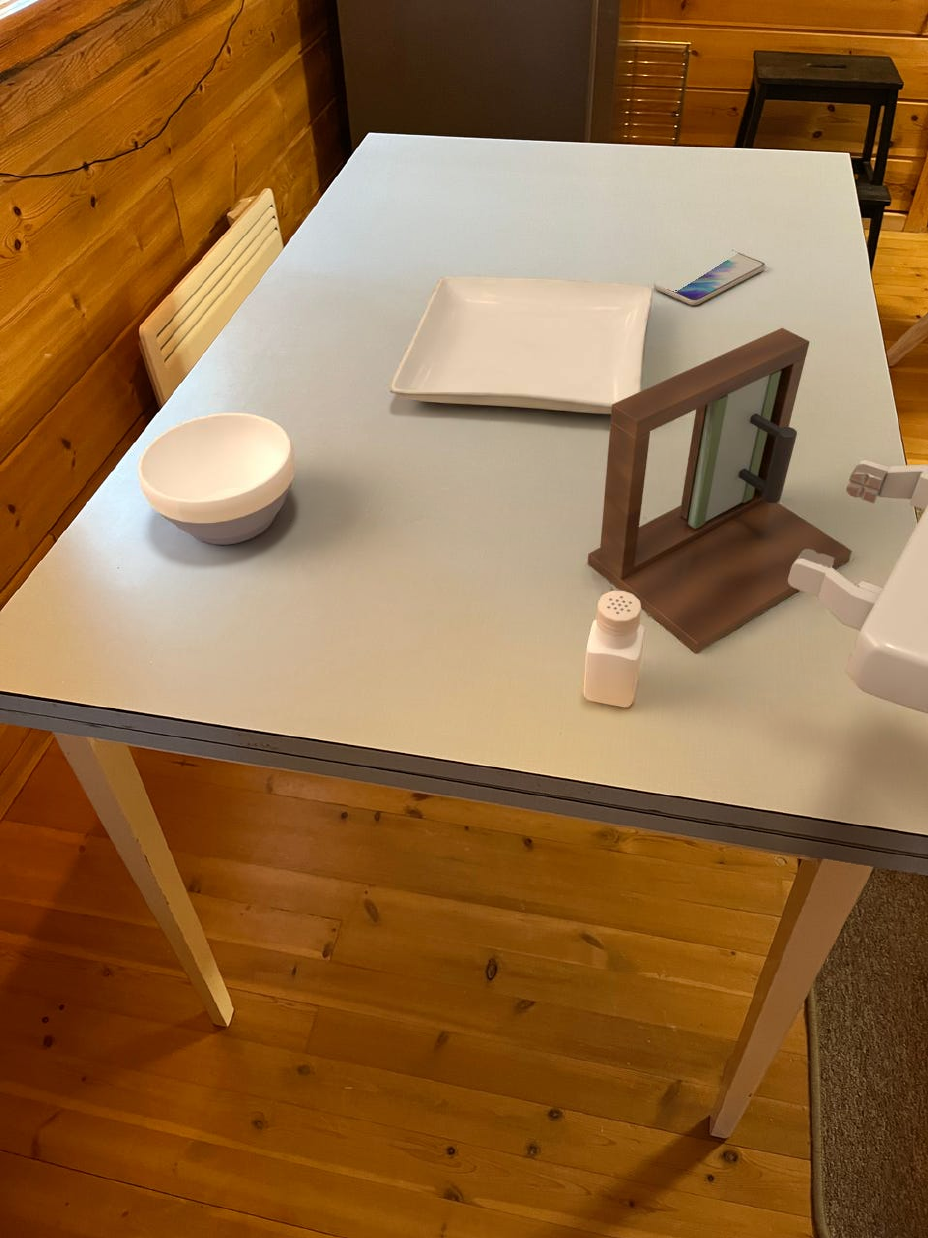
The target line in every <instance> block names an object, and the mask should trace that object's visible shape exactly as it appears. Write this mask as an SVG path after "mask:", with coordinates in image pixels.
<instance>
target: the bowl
mask: <svg viewBox="0 0 928 1238" xmlns="http://www.w3.org/2000/svg"><path fill="white" fill-rule="evenodd" d="M295 473H296V458H295V451H294V446H293V444H292V440H291V438H290V437H289V434H288V433H287V432H286V430H285V429H284V428H283V427H282V426H281V425H279V424H278V423H276V422H274V421H273V420H271V419H268V418H265V417H263V416H260V415H255V414H251V413H243V412H221V413H213V414H207V415H203V416H200V417H195V418H191V419H190V420H186V421H183V422H180V423H179V424H176V425H174V426H172V427H170V428H168V429H167V430H165V431H164V432H162V433H160V434H159V435H157V436H156V438H154V439H153V440H152V441H151V442H150V443H149V444H148V445H147V446H146V448H145V449H144V451H143V452H142V453H141V456H140V457H139V460H138V462H137V476H138V479H139V484H140V488H141V490H142V493H143V495H144V496H145V499H146V501H147V502H148V504H149V505H150V506H151V508H152V509H154V510H155V511H156V512H157V513H158V514H159V515H161V516H162V517H163V518H164V519H165V520H167V521H168V522H169V523H172V524H173V526H175V527H176V528H178V529H179V530H181V531H183V532H185V533H187V534H189V535H192V536H193V537H194V538H195V539H197V540H199V541H200V542H203V543H207V544H211V545H220V546H221V545H233V544H238V543H239V544H240V543H242V542H246V541H248V540H250V539H253V538H255V537H257V536H259V535H260V534H262V533H263V532H264V531H265V530H267V529H268V528H269V527H270V526H271V524H273V521H274V520H275V518H276V516H277V514H278V512H279V511H280V509H281V508H282V507H283V505H284V503H285V501H286V499H287V495H288V493H289V491H290V489H291V486H292V483H293V480H294V478H295Z"/></svg>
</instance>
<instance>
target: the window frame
mask: <svg viewBox="0 0 928 1238" xmlns="http://www.w3.org/2000/svg"><path fill="white" fill-rule="evenodd" d="M809 347H810V340H808V339H806V338H804V337H802V336H800V335H798V334H796V333H795V332H792V331H790V330H788V329H786V328H784V327H781V328H779V329H776V330H774V331H772V332H770V333H767V334H766V335H762V336H760V337H759V338H756V339H754V340H752V341H749V342H747V343H745V344H743V345H740V346H738V347H736V348H734V349H732V350H730V351H727V352H725V353H722V354H721V355H719V356H716V357H714V358H712V359H709V360H708V361H706V362H703V363H701V364H699V365H696V366H694V367H692V368H690V369H687V370H685V371H682V372H680V373H679V374H677V375H674V376H672V377H669V378H667V379H665V380H663V381H661V382H658V383H656V384H654V385H652V386H650V387H648V388H645V389H643V390H641V392H639V393H636V394H634V395H632V396H630V397H628V398H625V399H623V400H621V401H619V402H616V403H614V404H612V409H611V414H610V423H609V424H610V426H609V436H608V446H607V447H608V450H607V461H606V474H605V485H604V486H605V487H604V496H603V497H604V500H603V508H602V509H603V510H602V522H601V534H600V545H599V547H597V548H596V549H595V550H592V551H591V552H589V553H588V554H587V564H588V565H589V566H590V567H592V569H594V570H595V571H596V572H597V573H599V574H600V575H601V576H602V577H603V578H605V579H606V580H607V581H608V582H610V583H611V584H612V585H613V586H614V587H615V588H617V589H618V591H625V592H628V593H631V594H633V595H634V596H635V597H636V598H637V599H638V600H639V601H640V604H641V610H643V611H644V612H645V613H647V614H648V615H649V616H650V617H651V618H652V619H654V620H656V622H657V623H658V624H659V625H661V626H662V627H664V629H666V630H667V631H669V632H670V633H671V634H672V635H673V636H675V637H676V638H677V639H678V640H679V641H681V642H682V643H683V644H685V646H686V647H687V648H689V649H690V650H691V651H692V652H693V653H695V654H697V653H700V651H702V650H705V648H707V647H708V646H710V645H712V644H714V643H715V642H717V641H719V640H720V639H722V638H723V637H725V636H727V635H729V634H730V633H732V632H733V631H735V630H737V629H738V628H740V627H742V626H743V625H745V624H747V623H748V622H750V621H751V620H753V619H755V618H756V617H758V616H760V615H762V614H763V613H765V612H766V611H768V610H770V609H771V608H773V607H775V606H776V605H778V604H780V603H781V602H783V601H784V600H786V599H787V598H789V597H791V596H793V595H794V594H796V593H798V592H800V590H798V589H795V588H793V587H791V586H790V585H789V583H788V577H789V574H790V570H791V567H792V565H793V563H794V562H795V560H796V559H797V557H798V556H799V554H800V553H801V551H802V550H804V549H812V550H815V551H816V552H817V553H818V554H822V553H823V554H826V555H829V556H831V557H834V558H835V559H834V562H833V565H832V568H833V569H835V570H836V569H837V568H839V567H840V566H842V565H843V564H845V563H847V562H849V561H850V558H851V555H852V553H853V550H852V549H850V548H849V547H847V546H846V545H844V544H843V543H841V542H839V541H838V540H837V539H834V537H832V536H830V535H828V534H827V533H825V532H823V531H822V530H821V529H819V528H818V527H816V526H815V525H813V524H812V523H810V522H809V521H807V520H805V519H804V518H802V517H801V516H799V515H798V514H796V513H795V512H793V511H792V510H790V509H789V508H787V507H786V506H784V505H782V503H779V502H777V503H769V502H766V501H765V500H764V499H763V494H764V493H762V492H761V491H759V490H758V489H756V488H755V490H754V494H753V498H752V499H751V500H749V501H747V502H745V503H743V502H741V503H740V504H738V505H736V506H734V507H732V508H730V509H728V510H727V511H725V512H723V513H721V514H719V515H717V516H715V517H714V518H712V519H710V520H708V521H706V522H705V524H704V525H702V526H700V527H699V528H697V529H694V528H693V527H691V526H690V525H689V524H688V520H689V514H690V508H691V502H692V496H693V490H694V485H695V479H696V473H697V467H698V461H699V455H700V449H701V443H702V437H703V431H704V425H705V419H706V413H707V407H708V404H709V403H711V402H713V401H715V400H717V399H719V398H721V397H723V396H726V395H728V394H730V393H732V392H734V391H736V390H738V389H740V388H742V387H744V386H747V385H749V384H751V383H753V382H755V381H757V380H759V379H761V378H763V377H766V376H768V375H770V374H772V373H774V372H776V371H778V370H781V375H780V379H779V384H778V388H777V392H776V397H775V401H774V406H773V410H772V415H771V419H770V422H772V423H774V424H775V425H777V426H779V427H781V428H782V427H790V423H791V419H792V416H793V411H794V408H795V403H796V398H797V395H798V390H799V387H800V381H801V378H802V375H803V370H804V366H805V363H806V358H807V354H808V351H809ZM694 411H695V414H694V422H693V426H692V434H691V439H690V446H689V452H688V453H689V454H688V459H687V465H686V471H685V477H684V485H683V492H682V496H681V503H680V505H679V506H677V507H675V508H673V509H671V510H669V511H667V512H665V513H663V514H661V515H659V516H657V517H656V518H654V519H652V520H650V521H648V522H645V523H644V524H642V525H640V521H641V513H642V504H643V497H644V488H645V479H646V470H647V461H648V453H649V446H650V436H651V431H654V430H656V429H658V428H660V427H662V426H664V425H666V424H669V423H671V422H673V421H675V420H676V419H680V418H681V417H683V416H686V415H687V414H690V413H692V412H694ZM776 439H777V438H775V437H773V436H772V435H770V434H768V433H767V437H766V441H765V446H764V450H763V454H762V459H761V463H760V468H759V472H758V476H757V477H759V478H761V479H762V480H764V481H765V482H766V481H767V477H768V473H769V469H770V464H771V460H772V456H773V452H774V447H775V443H776Z"/></svg>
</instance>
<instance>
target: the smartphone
mask: <svg viewBox="0 0 928 1238" xmlns="http://www.w3.org/2000/svg"><path fill="white" fill-rule="evenodd" d="M731 250H732V251H735V252H737V253H738V254H736V255H735V256H733V257H731V258H730V259H728V260H727V261H725V262H723V263H722V264H720V265H719V266H717V267H715V268H714V269H712V270H711V271H709V272H707V273H706V274H704V275H703V276H701V277H699V278H698V279H696V280H695V281H693V282H691V283H690V284H688V285H687V286H685V287H683V288H682V289H680V290H678V291H677V290H675V291H677V292H674V291H671V290H669V289H665V288H663V287H660V286H658V285H656V284H655V282H654V283H653V288H654V289H655V290H657V292H660V293H663V294H665V295H667V296H670V297H673V298H675V299H676V300H678V301H681V302H683V303H685V304H687V305H690V306H697V305H699V304H701V303H704V302H705V301H707V300H709V299H712V298H713V297H715V296H717V295H719V294H720V293H722V292H724V291H726V290H728V289H730V288H733V287H734V286H736V285H738V284H740V283H742V282H743V281H746V280H748V279H749V278H751V277H753V276H755V275H756V274H759V273H760V272H762V271H764V270H765V269H766V264H765V262H763V261H761V260H758V259H756V258H753V257H750V256H748V255H746V254H744V253H741V252H738V251H736V250H733V249H731Z"/></svg>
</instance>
